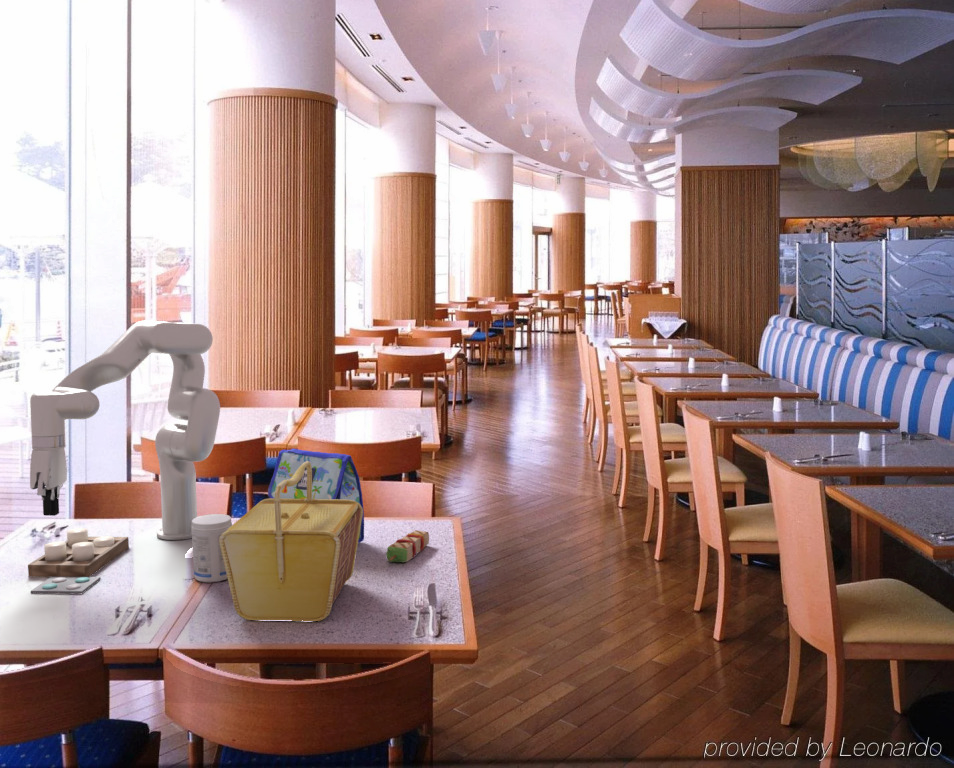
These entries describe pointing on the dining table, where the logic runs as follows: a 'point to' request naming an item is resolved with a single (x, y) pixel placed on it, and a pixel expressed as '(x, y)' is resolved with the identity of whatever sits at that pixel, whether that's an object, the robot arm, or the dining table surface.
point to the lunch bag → (318, 477)
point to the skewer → (407, 546)
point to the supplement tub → (209, 547)
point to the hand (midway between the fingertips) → (51, 514)
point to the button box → (78, 567)
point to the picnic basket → (291, 554)
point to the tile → (66, 585)
